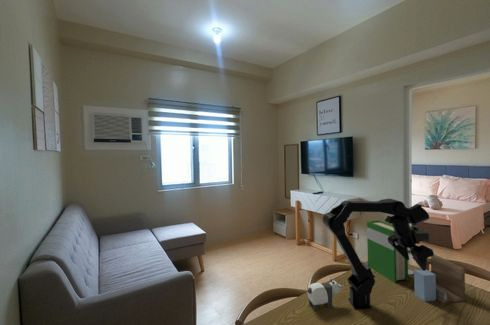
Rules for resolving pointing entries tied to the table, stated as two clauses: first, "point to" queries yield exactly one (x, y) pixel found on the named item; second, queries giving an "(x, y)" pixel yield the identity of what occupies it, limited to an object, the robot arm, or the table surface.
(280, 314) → the table surface
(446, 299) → the wooden display stand
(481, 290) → the table surface
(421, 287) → the blue-grey rectangular block
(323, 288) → the giant panda
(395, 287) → the table surface
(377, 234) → the hardback book
